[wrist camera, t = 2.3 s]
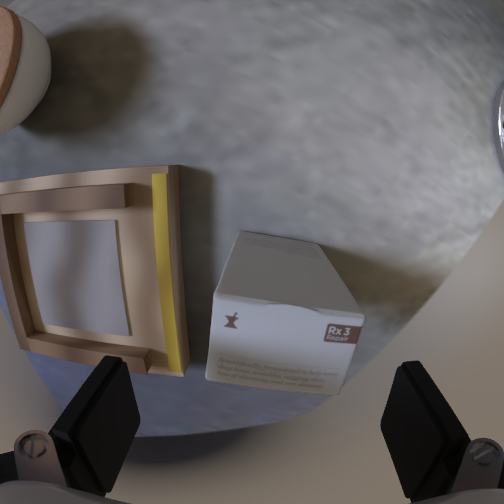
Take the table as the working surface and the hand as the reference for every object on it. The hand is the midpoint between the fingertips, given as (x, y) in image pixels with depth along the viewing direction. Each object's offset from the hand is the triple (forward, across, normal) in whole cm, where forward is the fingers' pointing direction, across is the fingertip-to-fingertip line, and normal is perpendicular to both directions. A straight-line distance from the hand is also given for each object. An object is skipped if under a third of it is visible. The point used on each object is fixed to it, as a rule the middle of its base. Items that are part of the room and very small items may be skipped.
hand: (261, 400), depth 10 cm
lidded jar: (+15, +21, -16) cm, 31 cm away
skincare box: (+15, -1, 0) cm, 15 cm away
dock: (+15, +14, 0) cm, 20 cm away
